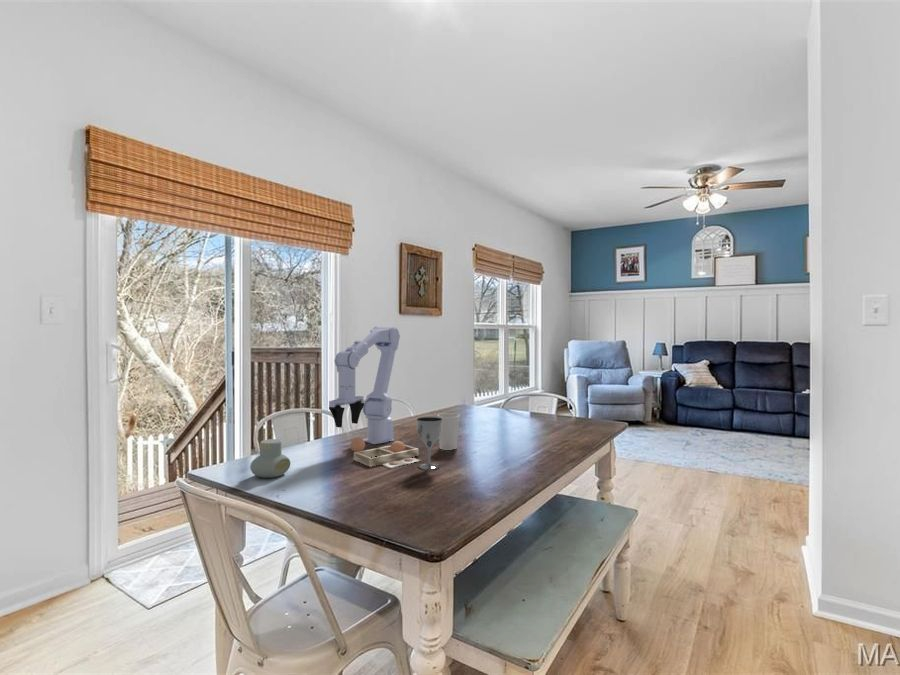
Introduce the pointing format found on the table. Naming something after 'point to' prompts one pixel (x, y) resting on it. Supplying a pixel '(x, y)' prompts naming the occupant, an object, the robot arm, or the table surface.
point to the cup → (449, 431)
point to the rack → (387, 457)
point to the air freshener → (270, 460)
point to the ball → (397, 447)
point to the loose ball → (357, 444)
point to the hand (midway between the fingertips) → (346, 425)
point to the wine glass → (429, 435)
